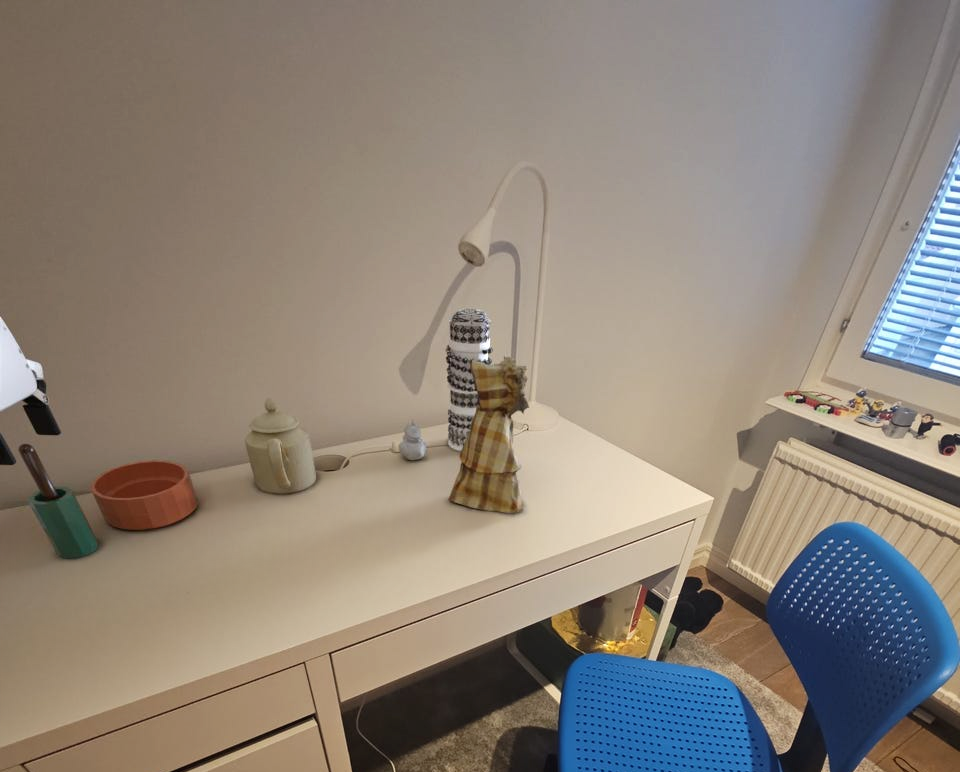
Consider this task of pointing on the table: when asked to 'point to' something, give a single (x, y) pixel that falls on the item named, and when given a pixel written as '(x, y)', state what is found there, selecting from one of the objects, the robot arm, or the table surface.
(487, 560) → the table surface
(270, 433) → the sugar bowl
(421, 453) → the grey figurine
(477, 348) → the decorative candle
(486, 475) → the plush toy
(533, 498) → the table surface
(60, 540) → the stick holder
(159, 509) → the mixing bowl
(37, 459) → the stirring stick
